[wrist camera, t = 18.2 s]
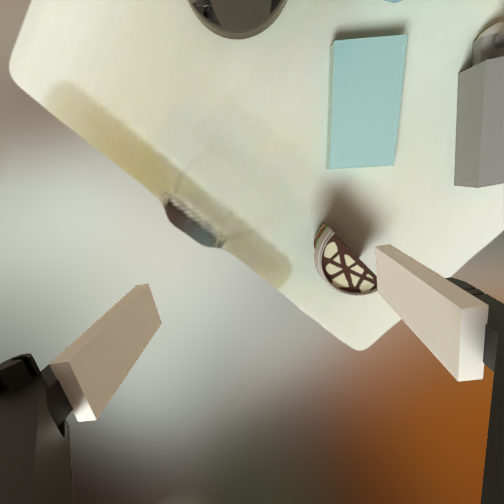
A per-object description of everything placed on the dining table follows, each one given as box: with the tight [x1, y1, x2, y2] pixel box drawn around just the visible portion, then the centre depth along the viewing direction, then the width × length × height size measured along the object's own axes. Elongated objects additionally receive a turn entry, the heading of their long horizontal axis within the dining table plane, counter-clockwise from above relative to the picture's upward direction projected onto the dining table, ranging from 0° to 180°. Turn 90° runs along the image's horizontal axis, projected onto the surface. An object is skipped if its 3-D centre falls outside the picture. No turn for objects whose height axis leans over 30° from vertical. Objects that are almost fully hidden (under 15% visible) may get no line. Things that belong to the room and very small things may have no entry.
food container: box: [314, 223, 377, 296], centre depth 42 cm, size 12×6×10 cm, turn 46°
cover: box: [326, 34, 408, 169], centre depth 39 cm, size 17×10×3 cm, turn 3°
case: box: [454, 21, 504, 188], centre depth 37 cm, size 21×8×5 cm, turn 11°
